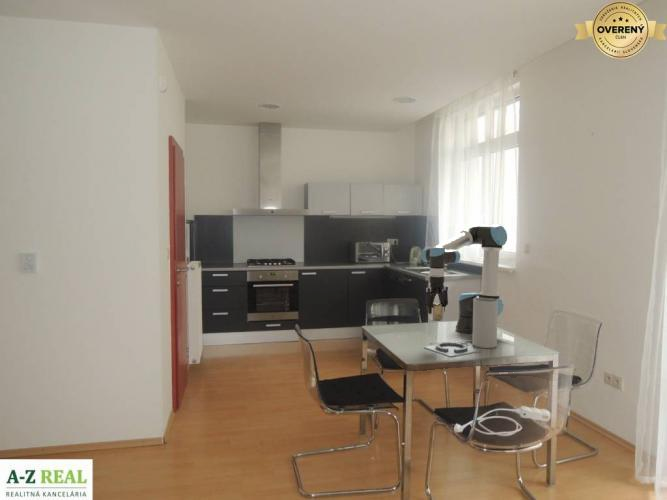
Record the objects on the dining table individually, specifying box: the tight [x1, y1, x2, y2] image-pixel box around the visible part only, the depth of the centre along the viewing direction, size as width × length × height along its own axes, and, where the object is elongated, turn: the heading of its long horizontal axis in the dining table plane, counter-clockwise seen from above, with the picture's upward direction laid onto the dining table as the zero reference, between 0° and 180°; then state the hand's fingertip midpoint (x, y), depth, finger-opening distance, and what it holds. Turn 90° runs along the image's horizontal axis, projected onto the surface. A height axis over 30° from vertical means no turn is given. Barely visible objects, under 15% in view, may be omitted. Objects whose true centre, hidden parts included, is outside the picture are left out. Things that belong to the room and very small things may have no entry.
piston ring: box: [435, 341, 469, 353], centre depth 257 cm, size 16×16×2 cm
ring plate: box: [423, 344, 481, 358], centre depth 258 cm, size 20×20×1 cm
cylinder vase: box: [472, 298, 498, 349], centre depth 265 cm, size 12×12×25 cm
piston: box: [431, 302, 443, 322], centre depth 263 cm, size 6×6×8 cm
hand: (436, 319), depth 263 cm, fingers closed on piston, 6 cm apart
